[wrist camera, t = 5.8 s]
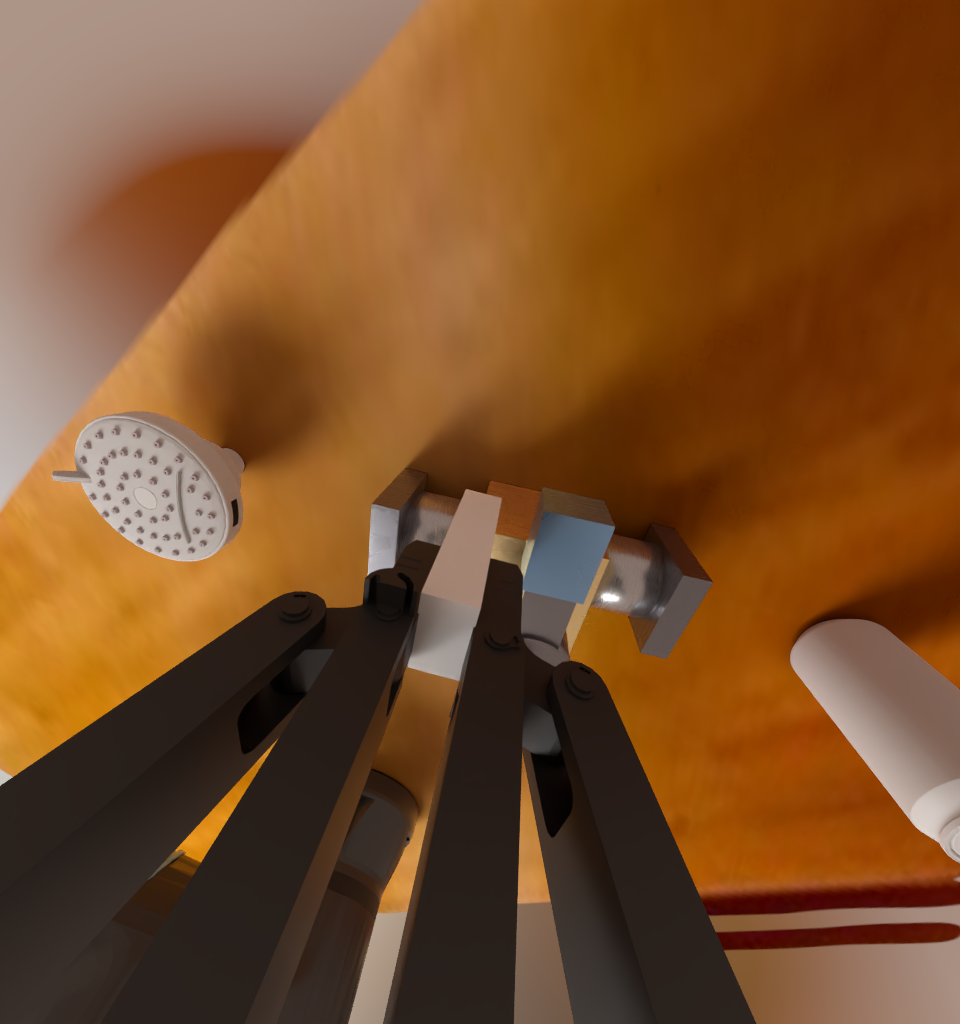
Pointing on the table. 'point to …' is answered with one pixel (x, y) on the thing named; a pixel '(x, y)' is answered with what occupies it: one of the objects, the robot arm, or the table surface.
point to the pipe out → (652, 587)
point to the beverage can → (890, 717)
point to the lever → (560, 567)
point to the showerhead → (160, 484)
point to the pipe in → (407, 518)
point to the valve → (514, 535)
